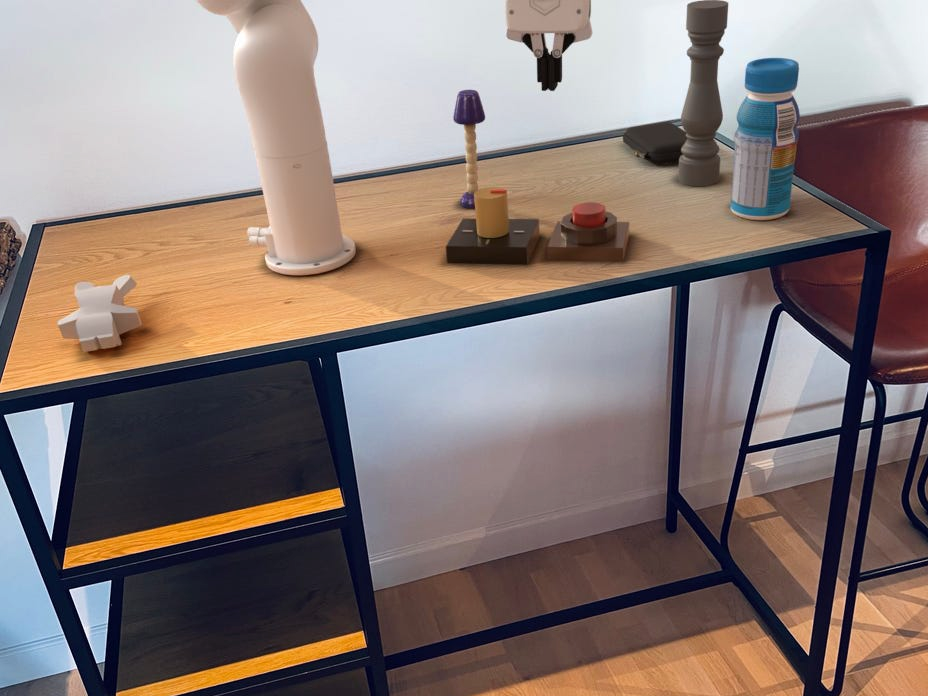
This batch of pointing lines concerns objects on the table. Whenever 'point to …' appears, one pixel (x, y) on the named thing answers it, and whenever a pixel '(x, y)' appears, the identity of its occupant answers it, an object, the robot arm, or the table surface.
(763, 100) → the beverage bottle
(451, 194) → the table surface
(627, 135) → the carrying case
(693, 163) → the candle holder
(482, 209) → the dimmer knob
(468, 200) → the toy lamp
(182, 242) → the table surface
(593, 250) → the switch box
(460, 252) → the dimmer
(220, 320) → the table surface
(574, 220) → the power button
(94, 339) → the white blocky figure
